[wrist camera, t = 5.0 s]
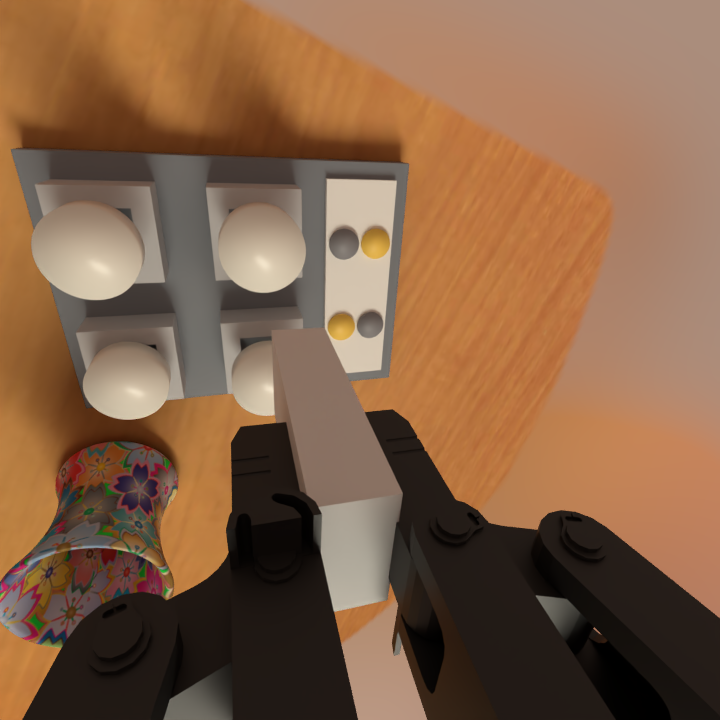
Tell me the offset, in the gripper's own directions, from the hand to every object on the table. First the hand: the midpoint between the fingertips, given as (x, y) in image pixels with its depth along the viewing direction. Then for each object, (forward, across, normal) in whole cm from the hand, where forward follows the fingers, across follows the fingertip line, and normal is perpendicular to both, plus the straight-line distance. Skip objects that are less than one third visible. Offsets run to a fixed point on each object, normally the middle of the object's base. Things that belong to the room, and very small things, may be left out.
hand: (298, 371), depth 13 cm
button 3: (+16, 0, -8) cm, 17 cm away
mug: (+19, -12, -21) cm, 31 cm away
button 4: (+16, 0, +1) cm, 16 cm away
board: (+19, -1, -4) cm, 19 cm away
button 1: (+17, -8, -8) cm, 20 cm away
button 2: (+15, -8, 0) cm, 17 cm away
